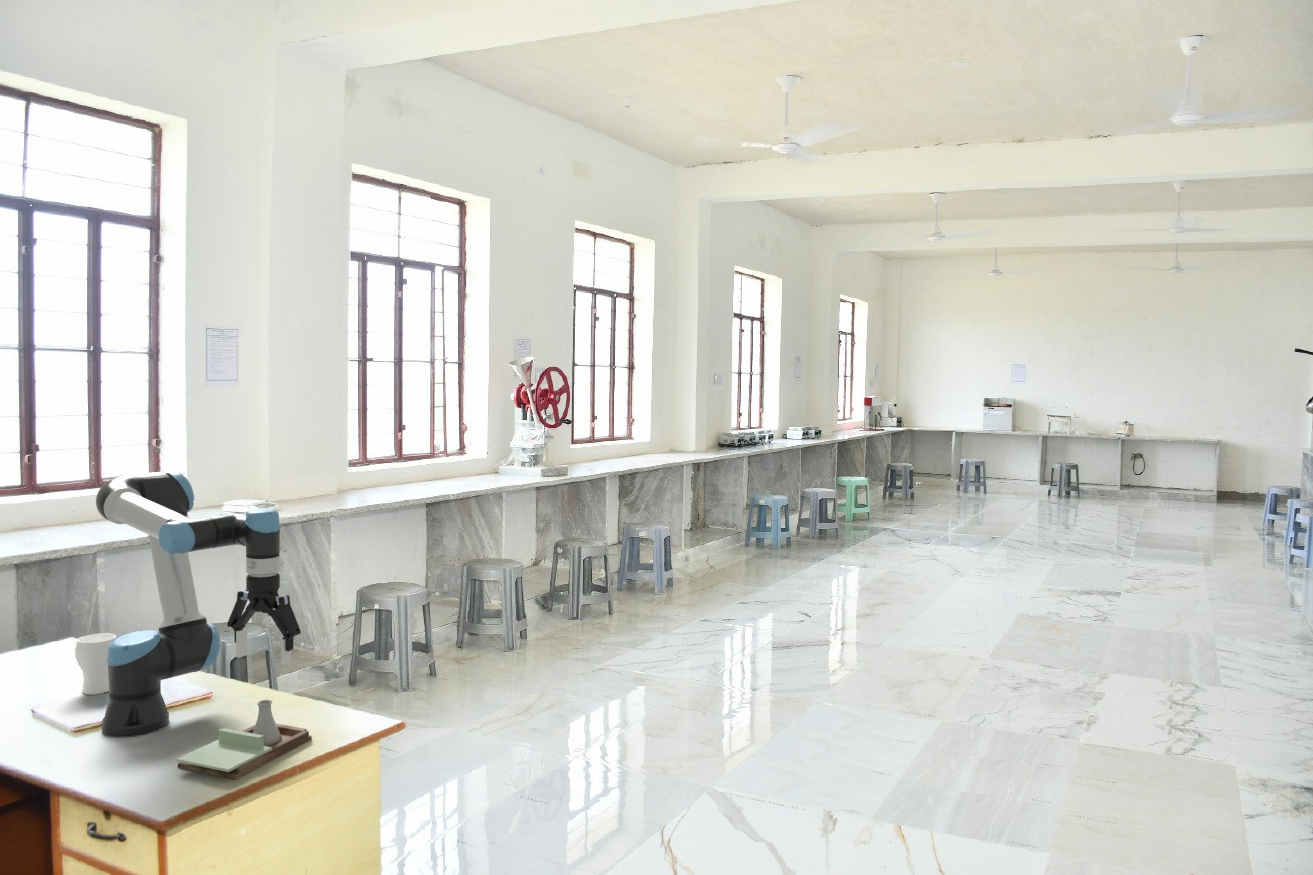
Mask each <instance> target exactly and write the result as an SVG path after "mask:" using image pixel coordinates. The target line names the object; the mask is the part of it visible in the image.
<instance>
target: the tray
mask: <svg viewBox="0 0 1313 875" xmlns="http://www.w3.org/2000/svg"><path fill="white" fill-rule="evenodd" d="M255 725H256V724H254V725H252V726H249V727H248V728H245V729H243V730H242V732H248V733H253V731H254V728H255ZM276 726H277V728H278V730H279V732H280V734H281V737H282V738H281V740H280V741H279V742H278V743H276V744H273V745H270V746H267V747H272V750H271V751H269V752H267V753H265V754H263V755H261V756H259V757H257V758H255V759H253V760H251V761H249V762H247V763H245V764H243V765H241V766H240V767H238V768H236V769H234V770H232V771H230V772H225V771H220V770H215V769H211V768H206V767H201V766H196V765H191V764H186V763H181V762H177V768H180V769H184V770H190V771H193V772H198V773H203V774H208V775H212V776H218V777H224V778H226V779H233V780H237V779H240V778H241V777H244V776H246V775H247V774H250V773H252V771H255V770H257V769H259V768H261V767H263V766H264V765H266V764H268V763H270V762H271V761H274V760H275V759H278V758H279V757H281V755H282V756H283V755H285V754H287V753H289V752H291V751H293V750H295V749H297V748H298V747H300V746H302V745H304V744H306V743H308V742H310V741H312V739H313V738H312V737H313V736H312V735H310V731H308V730H307V728H304V727H298V726H292V725H287V724H281V723H276Z"/></svg>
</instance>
